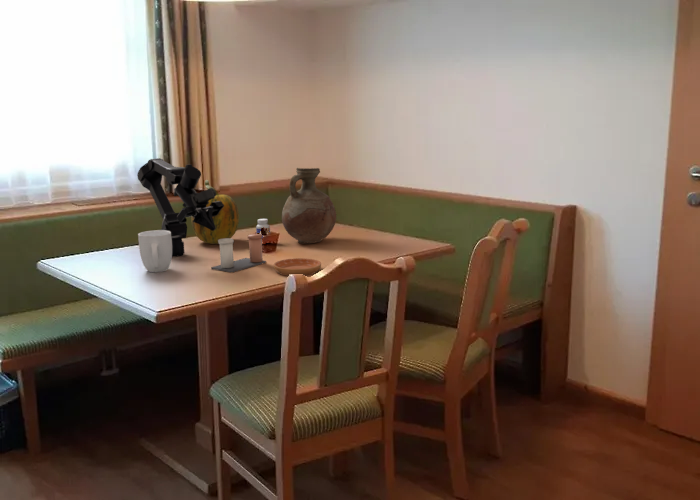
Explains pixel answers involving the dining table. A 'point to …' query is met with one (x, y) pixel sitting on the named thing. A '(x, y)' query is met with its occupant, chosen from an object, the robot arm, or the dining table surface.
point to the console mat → (238, 265)
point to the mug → (155, 249)
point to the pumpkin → (219, 220)
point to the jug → (308, 209)
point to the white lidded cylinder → (226, 252)
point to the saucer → (297, 266)
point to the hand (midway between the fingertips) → (214, 229)
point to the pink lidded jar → (255, 247)
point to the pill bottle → (262, 225)
